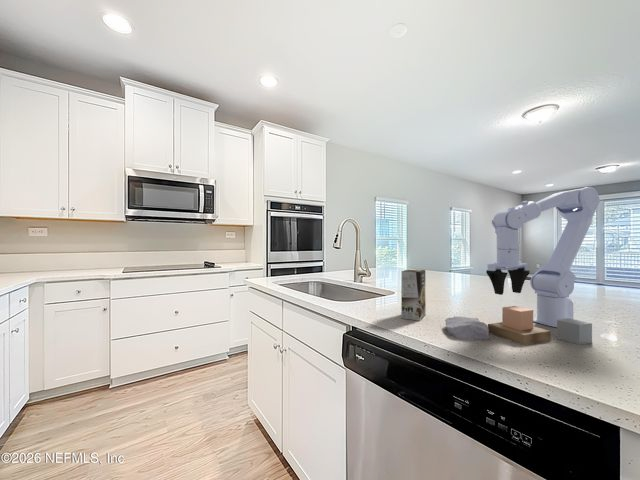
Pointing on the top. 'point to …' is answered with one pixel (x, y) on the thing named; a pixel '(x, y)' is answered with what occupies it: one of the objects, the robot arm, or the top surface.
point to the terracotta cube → (517, 317)
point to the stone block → (467, 328)
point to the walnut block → (520, 334)
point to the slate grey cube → (574, 331)
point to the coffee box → (413, 295)
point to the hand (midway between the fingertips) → (507, 293)
